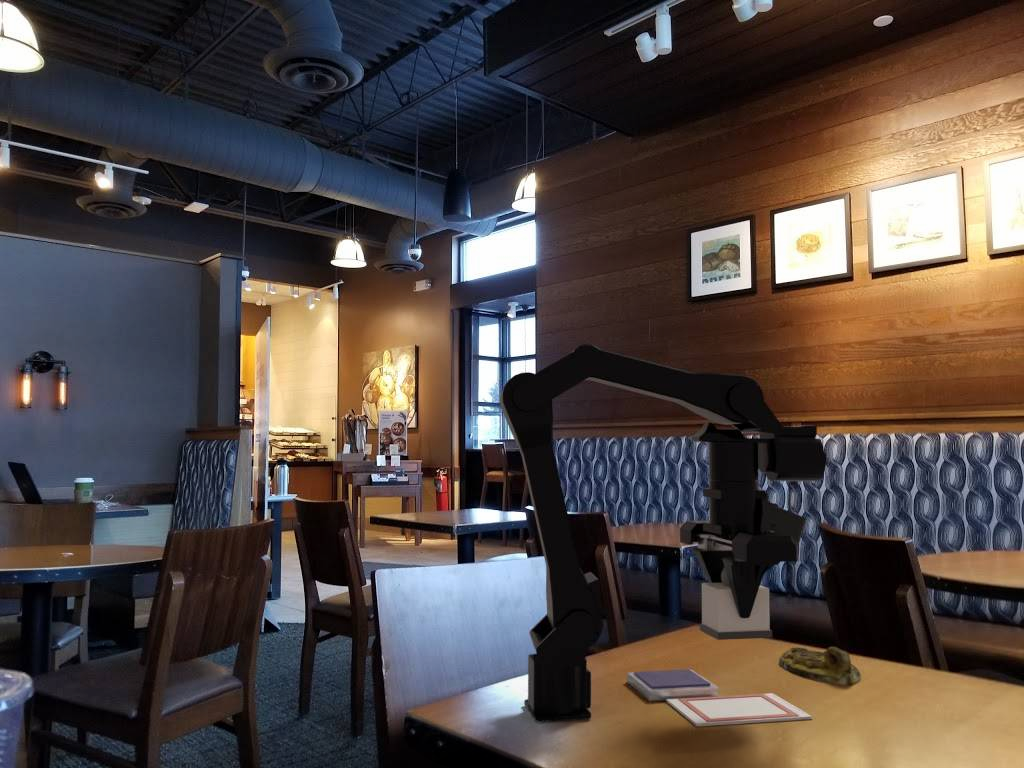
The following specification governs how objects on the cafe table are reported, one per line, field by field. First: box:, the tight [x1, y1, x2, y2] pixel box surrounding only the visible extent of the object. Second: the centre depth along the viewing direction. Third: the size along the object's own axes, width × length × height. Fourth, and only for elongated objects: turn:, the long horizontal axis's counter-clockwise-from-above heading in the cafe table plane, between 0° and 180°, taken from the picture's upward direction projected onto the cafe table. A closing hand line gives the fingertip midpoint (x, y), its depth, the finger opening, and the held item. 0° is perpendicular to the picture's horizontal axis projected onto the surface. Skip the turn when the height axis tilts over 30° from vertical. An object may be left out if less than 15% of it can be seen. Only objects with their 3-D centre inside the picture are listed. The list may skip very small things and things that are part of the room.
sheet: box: [665, 692, 813, 727], centre depth 92 cm, size 14×9×1 cm, turn 102°
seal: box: [778, 646, 862, 686], centre depth 110 cm, size 9×5×15 cm
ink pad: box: [626, 668, 720, 702], centre depth 100 cm, size 9×8×2 cm
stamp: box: [699, 567, 773, 641], centre depth 93 cm, size 5×7×8 cm
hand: (734, 613), depth 93 cm, fingers closed on stamp, 4 cm apart
